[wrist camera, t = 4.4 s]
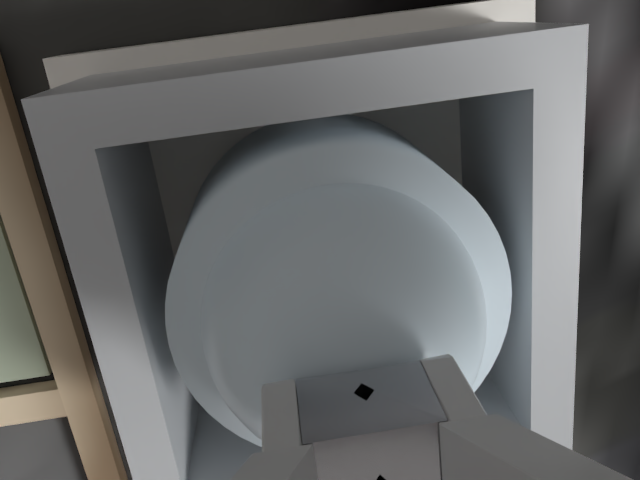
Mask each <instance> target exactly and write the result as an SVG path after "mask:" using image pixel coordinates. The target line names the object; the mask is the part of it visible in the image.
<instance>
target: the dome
mask: <svg viewBox="0 0 640 480" xmlns="http://www.w3.org/2000/svg"><path fill="white" fill-rule="evenodd" d="M511 302H512V284H511V272H510V268H509V263H508V259H507V254H506V251H505V248H504V246H503V243H502V241H501V238H500V236H499V233H498V231H497V230H496V228H495V226H494V224H493V223H492V221H491V219H490V217H489V216H488V214H487V213H486V212H485V210H484V209H483V208H482V207H481V205H480V204H479V203H478V202H477V200H476V199H475V198H474V197H473V196H472V195H471V194H470V193H469V192H468V191H467V190H466V189H464V188H463V187H462V186H461V185H460V184H459V183H458V182H457V181H456V180H454V179H453V178H452V177H451V176H450V175H449V174H447V173H446V172H445V171H444V170H443V169H441V168H440V167H439V166H438V165H437V164H435V163H434V162H433V161H432V160H431V159H430V158H428V157H427V156H426V155H425V154H424V153H422V152H421V151H420V150H419V149H418V148H417V147H415V146H414V145H413V144H412V143H411V142H409V141H408V140H407V139H405V138H404V137H402V136H401V135H399V134H398V133H397V132H395V131H393V130H391V129H389V128H387V127H385V126H384V125H382V124H380V123H377V122H374V121H371V120H368V119H366V118H363V117H358V116H353V115H348V114H344V115H337V116H330V117H323V118H315V119H308V120H301V121H293V122H286V123H279V124H272V125H266V126H264V127H262V128H260V129H258V130H256V131H254V132H252V133H251V134H249V135H248V136H246V137H245V138H243V139H242V140H241V141H239V142H238V143H236V144H235V145H234V146H233V147H232V148H231V149H230V150H229V151H228V152H226V153H225V154H224V155H223V156H222V158H221V159H220V160H219V161H218V162H217V164H216V165H215V166H214V167H213V168H212V170H211V171H210V173H209V174H208V176H207V178H206V179H205V181H204V182H203V184H202V186H201V188H200V190H199V193H198V195H197V197H196V199H195V202H194V205H193V208H192V211H191V213H190V216H189V219H188V222H187V225H186V228H185V231H184V234H183V236H182V239H181V242H180V245H179V248H178V251H177V254H176V257H175V259H174V263H173V266H172V269H171V273H170V276H169V280H168V284H167V292H166V299H165V326H166V332H167V338H168V344H169V348H170V351H171V354H172V357H173V360H174V363H175V366H176V368H177V370H178V372H179V374H180V376H181V378H182V380H183V382H184V383H185V385H186V386H187V388H188V389H189V391H190V392H191V394H192V395H193V397H194V398H195V399H196V400H197V402H198V403H199V404H200V405H201V406H202V407H203V408H204V409H205V410H206V411H207V413H208V414H209V415H211V416H212V417H213V418H214V419H215V420H217V421H218V422H219V423H220V424H221V425H223V426H224V427H225V428H227V429H228V430H230V431H232V432H233V433H235V434H236V435H238V436H239V437H241V438H243V439H245V440H247V441H249V442H251V443H253V444H255V445H258V446H260V447H262V404H261V388H262V386H263V384H265V383H271V382H277V381H283V380H289V379H294V380H295V383H296V379H297V378H304V377H311V376H318V375H326V374H333V373H340V372H348V371H355V370H358V371H361V370H366V369H372V368H377V367H383V366H388V365H394V364H399V363H405V362H410V361H416V360H419V359H424V358H430V357H435V356H440V355H445V354H450V355H452V356H453V357H454V359H455V361H456V362H457V364H458V366H459V367H460V369H461V371H462V373H463V374H464V376H465V378H466V379H467V381H468V383H469V384H470V386H471V388H472V390H473V391H474V392H475V391H476V390H477V389H478V387H479V386H480V385H481V383H482V382H483V380H484V379H485V377H486V376H487V374H488V373H489V371H490V370H491V368H492V366H493V364H494V362H495V360H496V358H497V356H498V354H499V352H500V350H501V347H502V344H503V341H504V338H505V336H506V333H507V328H508V324H509V319H510V314H511Z"/></svg>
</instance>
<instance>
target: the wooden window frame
mask: <svg viewBox="0 0 640 480" xmlns="http://www.w3.org/2000/svg"><path fill="white" fill-rule="evenodd" d="M0 214H1V216H0V383H3V382H9V381H16V380H22V379H29V378H35V377H42V376H48V375H50V374H51V372H53V375H54V378H55V380H50V381H43V382H37V383H30V384H24V385H17V386H11V387H4V388H0V427H2V426H8V425H14V424H21V423H27V422H34V421H40V420H46V419H53V418H59V417H65V416H67V418H68V421H69V424H70V427H71V430H72V433H73V436H74V439H75V442H76V445H77V448H78V451H79V454H80V457H81V460H82V463H83V466H84V469H85V472H86V475H87V478H88V480H128V478H127V475H126V472H125V468H124V465H123V462H122V458H121V455H120V452H119V448H118V445H117V442H116V438H115V435H114V431H113V428H112V425H111V421H110V418H109V415H108V411H107V408H106V405H105V401H104V398H103V395H102V391H101V388H100V385H99V381H98V378H97V375H96V371H95V368H94V365H93V361H92V358H91V355H90V351H89V348H88V345H87V341H86V338H85V334H84V331H83V328H82V324H81V321H80V318H79V314H78V311H77V308H76V304H75V301H74V298H73V294H72V291H71V288H70V284H69V281H68V278H67V274H66V271H65V268H64V264H63V261H62V258H61V254H60V251H59V248H58V244H57V241H56V238H55V234H54V231H53V227H52V224H51V221H50V217H49V214H48V211H47V207H46V204H45V201H44V197H43V194H42V191H41V187H40V184H39V181H38V177H37V174H36V171H35V167H34V164H33V161H32V157H31V154H30V151H29V147H28V144H27V141H26V137H25V134H24V130H23V127H22V124H21V120H20V117H19V114H18V110H17V107H16V104H15V100H14V97H13V94H12V90H11V87H10V84H9V80H8V77H7V74H6V70H5V67H4V64H3V60H2V57H1V54H0ZM1 217H2V219H1ZM2 220H3V222H2ZM3 223H4V225H3ZM4 226H5V228H4ZM5 229H6V231H5ZM6 232H7V234H6ZM7 235H8V237H7ZM8 238H9V240H8ZM9 242H10V243H9ZM10 245H11V246H10ZM11 248H12V249H11ZM12 251H13V252H12ZM13 254H14V255H13ZM14 257H15V258H14ZM15 260H16V261H15ZM16 263H17V264H16ZM17 266H18V267H17ZM18 269H19V270H18ZM19 272H20V273H19ZM20 275H21V276H20ZM21 278H22V280H21ZM22 281H23V283H22ZM23 284H24V286H23ZM24 287H25V289H24ZM25 290H26V292H25ZM26 293H27V295H26ZM27 296H28V298H27ZM28 299H29V301H28ZM29 302H30V304H29ZM30 305H31V307H30ZM31 308H32V310H31ZM32 311H33V313H32ZM33 314H34V316H33ZM34 317H35V319H34ZM35 320H36V322H35ZM36 323H37V325H36ZM37 326H38V328H37ZM38 330H39V331H38ZM39 333H40V334H39ZM40 336H41V337H40ZM41 339H42V340H41ZM42 342H43V343H42ZM43 345H44V346H43ZM44 348H45V349H44ZM45 351H46V352H45ZM46 354H47V355H46ZM47 357H48V358H47ZM48 360H49V361H48ZM49 363H50V364H49ZM50 366H51V367H50ZM51 369H52V370H51Z"/></svg>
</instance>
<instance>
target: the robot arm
mask: <svg viewBox="0 0 640 480" xmlns="http://www.w3.org/2000/svg"><path fill="white" fill-rule="evenodd" d="M261 404H262V452H259V453H254V454H252V455H251V456H250V457H249V458H248V459H247V461H246V462H245V463H244V464H243V465H242V466H241V468H240V469H239V470H238V471H237V472H236V474H235V475H234V476H233V477H232V478H231V479H230V480H633V479H630V478H628V477H626V476H624V475H622V474H620V473H618V472H616V471H614V470H612V469H610V468H608V467H606V466H604V465H602V464H600V463H597V462H595V461H593V460H591V459H589V458H587V457H585V456H583V455H581V454H579V453H577V452H575V451H573V450H571V449H569V448H567V447H565V446H562V445H560V444H558V443H556V442H554V441H552V440H550V439H548V438H546V437H544V436H542V435H540V434H538V433H536V432H534V431H532V430H530V429H527V428H525V427H523V426H521V425H519V424H517V423H515V422H513V421H511V420H509V419H507V418H505V417H503V416H501V415H499V414H491V415H487V413H486V412H485V410H484V408H483V407H482V405H481V403H480V402H479V400H478V398H477V396H476V395H475V393H474V391H473V390H472V388H471V386H470V384H469V383H468V381H467V379H466V378H465V376H464V374H463V373H462V371H461V369H460V367H459V366H458V364H457V362H456V361H455V359H454V357H453V356H452V355H450V354H445V355H440V356H435V357H430V358H424V359H419V360H416V361H410V362H405V363H399V364H394V365H388V366H383V367H377V368H372V369H366V370H361V371H358V370H355V371H348V372H340V373H333V374H326V375H318V376H311V377H304V378H297V379H296V383H295V380H294V379H289V380H283V381H277V382H271V383H265V384H263V386H262V388H261Z"/></svg>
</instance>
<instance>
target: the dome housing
mask: <svg viewBox="0 0 640 480" xmlns="http://www.w3.org/2000/svg"><path fill="white" fill-rule="evenodd" d="M588 28H589V24H574V23H537V22H535V0H480V1H473V2H465V3H457V4H450V5H442V6H434V7H427V8H419V9H411V10H404V11H396V12H388V13H380V14H373V15H365V16H357V17H350V18H342V19H334V20H327V21H319V22H311V23H304V24H296V25H288V26H281V27H273V28H265V29H257V30H250V31H242V32H234V33H227V34H219V35H211V36H204V37H196V38H188V39H181V40H173V41H165V42H158V43H150V44H142V45H135V46H127V47H119V48H111V49H104V50H96V51H88V52H81V53H73V54H65V55H59V56H54V57H49V58H44V59H42V60H43V64H44V67H45V71H46V75H47V78H48V82H49V86H50V89H49V90H46V91H43V92H40V93H37V94H35V95H32V96H29V97H26V98H23V99H21V102H22V106H23V109H24V113H25V116H26V119H27V123H28V126H29V129H30V133H31V136H32V140H33V143H34V146H35V150H36V153H37V157H38V160H39V163H40V167H41V170H42V174H43V177H44V180H45V184H46V187H47V190H48V194H49V197H50V201H51V204H52V207H53V211H54V214H55V218H56V221H57V224H58V228H59V231H60V235H61V238H62V241H63V245H64V248H65V251H66V255H67V258H68V262H69V265H70V268H71V272H72V275H73V279H74V282H75V285H76V289H77V292H78V295H79V299H80V302H81V306H82V309H83V312H84V316H85V319H86V323H87V326H88V329H89V333H90V336H91V340H92V343H93V346H94V350H95V353H96V356H97V360H98V363H99V367H100V370H101V373H102V377H103V380H104V384H105V387H106V390H107V394H108V397H109V400H110V404H111V407H112V411H113V414H114V417H115V421H116V424H117V428H118V431H119V434H120V438H121V441H122V445H123V448H124V451H125V455H126V458H127V461H128V465H129V468H130V472H131V475H132V478H133V480H230V479H231V478H232V477H233V476H234V475H235V474H236V472H237V471H238V470H239V469H240V468H241V466H242V465H243V464H244V463H245V462H246V461H247V459H248V458H249V457H250V456H251V455H252V454H254V453H259V452H262V447H260V446H258V445H255V444H253V443H251V442H249V441H247V440H245V439H243V438H241V437H239V436H238V435H236V434H235V433H233V432H232V431H230V430H228V429H227V428H225V427H224V426H223V425H221V424H220V423H219V422H218V421H217V420H215V419H214V418H213V417H212V416H211V415H209V414H208V413H207V411H206V410H205V409H204V408H203V407H202V406H201V405H200V404H199V403H198V402H197V400H196V399H195V398H194V397H193V395H192V394H191V392H190V391H189V389H188V388H187V386H186V385H185V383H184V382H183V380H182V378H181V376H180V374H179V372H178V370H177V368H176V366H175V363H174V360H173V357H172V354H171V351H170V348H169V344H168V338H167V332H166V326H165V299H166V292H167V284H168V280H169V276H170V273H171V269H172V266H173V263H174V259H175V257H176V254H177V251H178V248H179V245H180V242H181V239H182V236H183V234H184V231H185V228H186V225H187V222H188V219H189V216H190V213H191V211H192V208H193V205H194V202H195V199H196V197H197V195H198V193H199V190H200V188H201V186H202V184H203V182H204V181H205V179H206V178H207V176H208V174H209V173H210V171H211V170H212V168H213V167H214V166H215V165H216V164H217V162H218V161H219V160H220V159H221V158H222V156H223V155H224V154H225V153H226V152H228V151H229V150H230V149H231V148H232V147H233V146H234V145H235V144H236V143H238V142H239V141H241V140H242V139H243V138H245V137H246V136H248V135H249V134H251V133H252V132H254V131H256V130H258V129H260V128H262V127H264V126H266V125H272V124H279V123H286V122H293V121H301V120H308V119H315V118H323V117H330V116H337V115H344V114H348V115H353V116H358V117H363V118H366V119H368V120H371V121H374V122H377V123H380V124H382V125H384V126H385V127H387V128H389V129H391V130H393V131H395V132H397V133H398V134H399V135H401V136H402V137H404V138H405V139H407V140H408V141H409V142H411V143H412V144H413V145H414V146H415V147H417V148H418V149H419V150H420V151H421V152H422V153H424V154H425V155H426V156H427V157H428V158H430V159H431V160H432V161H433V162H434V163H435V164H437V165H438V166H439V167H440V168H441V169H443V170H444V171H445V172H446V173H447V174H449V175H450V176H451V177H452V178H453V179H454V180H456V181H457V182H458V183H459V184H460V185H461V186H462V187H463V188H464V189H466V190H467V191H468V192H469V193H470V194H471V195H472V196H473V197H474V198H475V199H476V200H477V202H478V203H479V204H480V205H481V207H482V208H483V209H484V210H485V212H486V213H487V214H488V216H489V217H490V219H491V221H492V223H493V224H494V226H495V228H496V230H497V231H498V233H499V236H500V238H501V241H502V243H503V246H504V248H505V251H506V254H507V259H508V263H509V268H510V272H511V284H512V302H511V314H510V319H509V324H508V328H507V333H506V336H505V338H504V341H503V344H502V347H501V350H500V352H499V354H498V356H497V358H496V360H495V362H494V364H493V366H492V368H491V370H490V371H489V373H488V374H487V376H486V377H485V379H484V380H483V382H482V383H481V385H480V386H479V387H478V389H477V390H476V391H475V392H474V393H475V395H476V396H477V398H478V400H479V402H480V403H481V405H482V407H483V408H484V410H485V412H486V413H487V415H491V414H499V415H501V416H503V417H505V418H507V419H509V420H511V421H513V422H515V423H517V424H519V425H521V426H523V427H525V428H527V429H530V430H532V431H534V432H536V433H538V434H540V435H542V436H544V437H546V438H548V439H550V440H552V441H554V442H556V443H558V444H560V445H562V446H565V447H567V448H569V449H571V450H572V442H573V416H574V390H575V364H576V338H577V312H578V286H579V261H580V235H581V209H582V183H583V157H584V131H585V105H586V80H587V54H588Z"/></svg>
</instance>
